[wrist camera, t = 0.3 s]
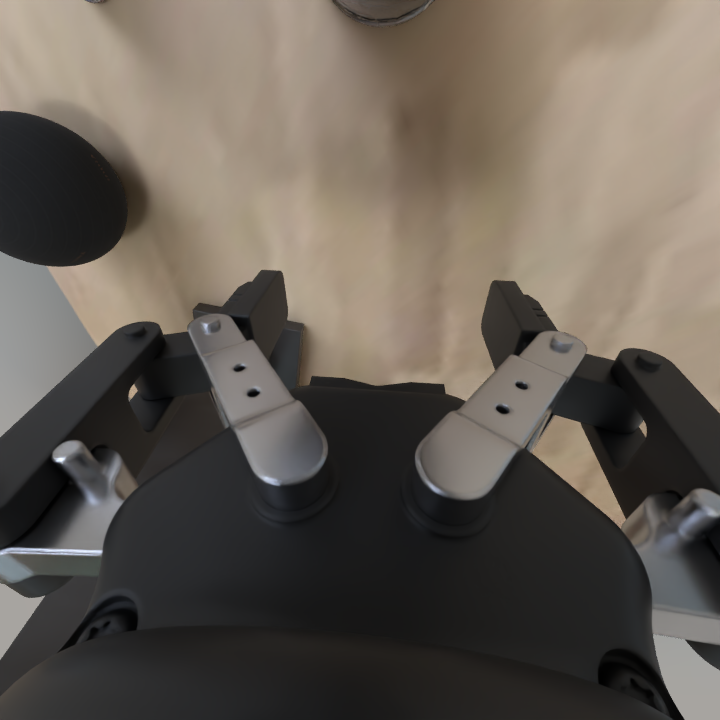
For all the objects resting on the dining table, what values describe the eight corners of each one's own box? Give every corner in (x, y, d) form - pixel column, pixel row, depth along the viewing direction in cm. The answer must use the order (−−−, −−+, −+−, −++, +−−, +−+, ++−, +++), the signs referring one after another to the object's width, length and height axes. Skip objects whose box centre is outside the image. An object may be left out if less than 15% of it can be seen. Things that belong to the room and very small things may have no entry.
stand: (327, 328, 36) (167, 871, 11) (317, 401, 43) (202, 840, 18) (174, 297, 35) (-372, 801, 10) (188, 376, 42) (-122, 797, 17)
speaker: (14, 83, 25) (-159, 79, 17) (153, 142, 27) (52, 163, 19) (40, 215, 31) (-80, 256, 23) (153, 257, 33) (76, 309, 25)
